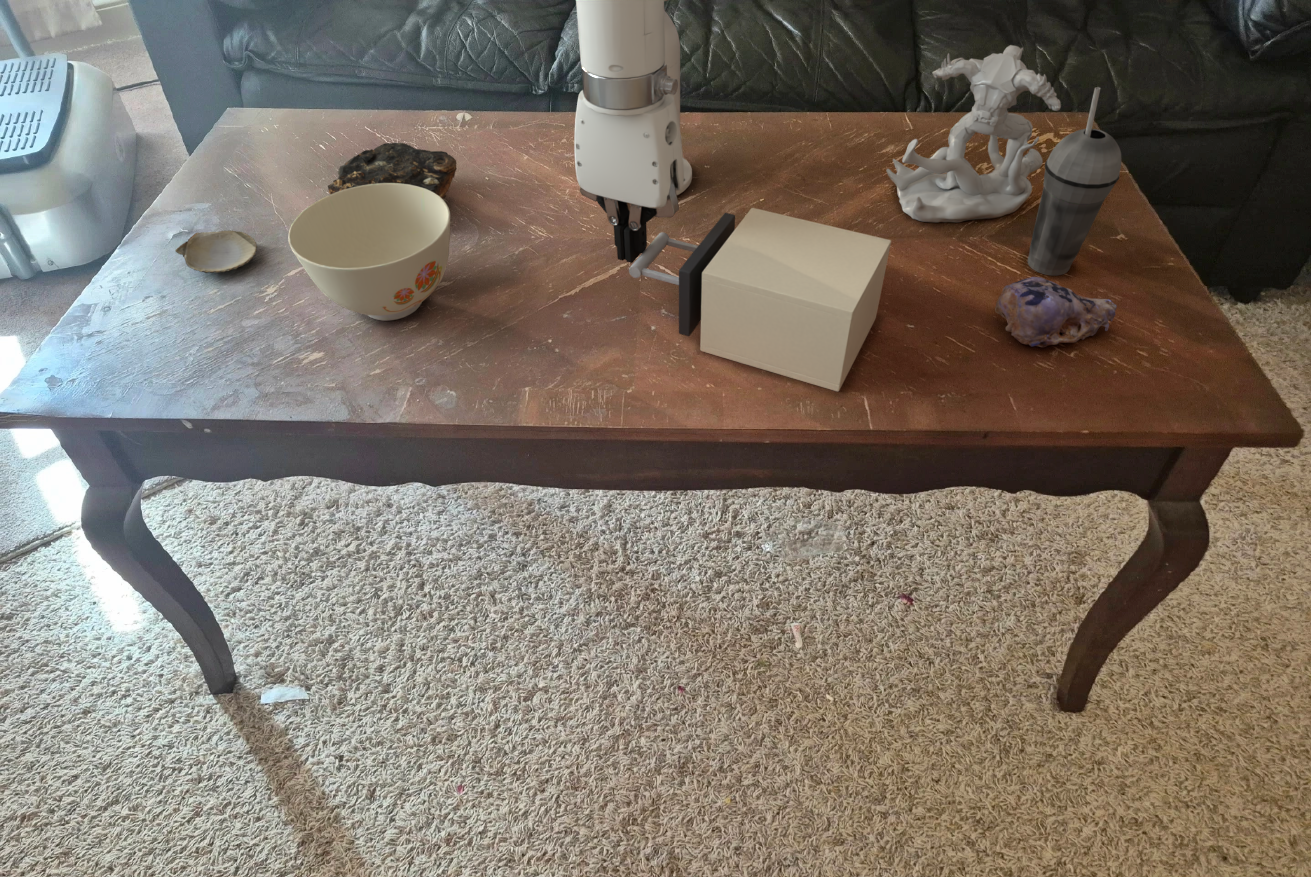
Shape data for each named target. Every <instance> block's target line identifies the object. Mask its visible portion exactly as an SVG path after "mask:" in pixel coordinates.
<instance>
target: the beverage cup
mask: <svg viewBox="0 0 1311 877" xmlns="http://www.w3.org/2000/svg"><path fill="white" fill-rule="evenodd" d="M1100 92H1101V87H1100V86H1097V87H1094V90H1093V94H1092V99H1091V104H1090V109H1089V114H1088V118H1087V123H1086V128H1083V129H1078V130H1076V131H1074V132H1071V133H1068V134H1067V135H1066V136H1064V137H1063V138H1062V139H1061V140H1060V141H1059V142H1058V143H1056V144H1055V146H1054V148H1053V149H1052V150H1051V152H1050V154H1049V156H1048V158H1047V159H1046V160H1045V162H1044V174H1043V175H1044V176H1043V188H1042V193H1041V195H1040V201H1039V205H1038V210H1037V213H1036V214H1037V215H1036V219H1035V222H1034V228H1033V232H1032V236H1031V241H1030V245H1029V251H1028V252H1029V253H1028V257H1027V264H1028V266H1029V267H1030V268H1031V269H1032V270H1033V271H1035V272H1037V273H1040V274H1042V275H1045V276H1062V275H1065V274H1066V273H1068V271H1070V269H1071V266H1072V264H1073V263H1074V261H1075V260H1076V259H1077V256H1078V254H1079V252H1080V251H1081V248H1082V247H1083V244H1084V242H1085V240H1086V238H1087V236H1088V234H1089V232H1090V230H1091V228H1092V226H1093V223H1094V222H1095V220H1096V218H1097V216H1098V214H1099V212H1100V210H1101V208H1102V206H1103V204H1104V202H1105V200H1106V198H1108V196H1109V195H1110V193H1111V192H1112V190H1113V188H1114V187H1115V185H1116V183H1117V182H1118V181H1119V180H1120V176H1121V175H1120V172H1121V169H1122V168H1121V167H1122V152H1121V148H1120V146H1119V144H1118V143H1117V141H1116V140H1115V138H1114V136H1112V135H1110V134H1109V133H1108V132H1106V131H1104V130H1101V129H1098V128H1093V125H1094V121H1095V115H1096V110H1097V107H1098V103H1099V97H1100V94H1101V93H1100Z"/></svg>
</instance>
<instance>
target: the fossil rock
mask: <svg viewBox="0 0 1311 877" xmlns="http://www.w3.org/2000/svg"><path fill="white" fill-rule="evenodd" d="M456 172H457V159H455V158H454V156H453V155H451V154H449V153H448V152H447V151H443V150H429V149H428V150H427V149H421V148H420V149H419V148H415V147H413V146H411V145H410V144H408V143H404V142H396V141H394V142H386V143H382V144H380V145H378V146H377V147H375V148H373V149H372V148H371V149H369V150H368V149H365V150H363V151H361V152H359V153H358V154H357V155H356V156H353V157H352V158H350V159H348V160H347V161H346V162H345V163H344V164H343V165H340V166H339V167H338V171H337V175H338V177H337V179H334V180H332V182H331V183H330V184H328V185H327V189H328V194H329V195H331V194H334V193H336V192H339V191H342V190H345V189H349V188H353V187H357V186H362V185H368V184H378V183H400V184H408V185H414V186H418V187H421V188H425V189H427V190H429V191H431V192H433V193H435V194H437V195H438V196H439V197H441V198H442V199H443V200H444V199H445V198H446V197H447V194H448V192H449V191H450V188H451V185H452V183H453V180H454V178H455V175H456ZM444 201H445V200H444Z"/></svg>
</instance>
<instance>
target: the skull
mask: <svg viewBox="0 0 1311 877" xmlns="http://www.w3.org/2000/svg"><path fill="white" fill-rule="evenodd" d="M997 298H998V299H997V300H996V302H995V303H996V304H995V308H994V311H995V312H994V313H996V314H998V315H1000V316H1001V317H1002V318H1003V319H1005V320H1006V322H1007V325H1006V326H1005V331H1006V332H1009V333H1011V336H1012V337H1013V338H1014V339H1016V340H1017V341H1018V342H1019V343H1020V344H1022V345H1029V346H1030V347H1031V348H1033V347H1039V348H1045V347H1048V346H1055V345H1058V344H1061V343H1065V344H1066V343H1067V344H1068V343H1070V344H1071V343H1072V344H1073V343H1077V342H1078V341H1079V340H1085V339H1086V338H1088V337H1093V336H1094V335H1096V334H1097V332H1098V330H1099V329H1100V327H1104V331H1105V332H1108V330H1109V327H1110V324H1109V321H1110V322H1111V323H1112V322H1113V320H1114V319H1115V317H1116V311H1117V308H1118V306H1117V304H1116V303H1114V302H1113V300H1112V299H1109V298H1095V297H1094V298H1091V297H1085V296H1082V295H1079V294H1076V293H1075V292H1074V291H1073V290H1072V289H1070V288H1068V287H1064V286H1062V285H1060V284H1058V283H1056V282H1054V281H1052V280H1048V279H1046V278H1044V277H1039V276H1031V277H1027V278H1023V279H1021V280H1018V281H1014V282H1012V283H1011V284H1007V285H1005V286H1004V287H1003V288H1002V292H1001V293H1000V295H999V296H998V297H997ZM1060 333H1061V334H1060Z"/></svg>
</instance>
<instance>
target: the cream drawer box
mask: <svg viewBox="0 0 1311 877" xmlns="http://www.w3.org/2000/svg"><path fill="white" fill-rule="evenodd" d="M891 245H892V240H891V239H887V238H883V237H880V236H879V237H878V236H874V235H870V234H866V233H861V232H858V231H853V230H849V229H845V228H840V227H836V226H832V225H828V224H823V223H819V222H815V221H811V220H807V219H802V218H797V217H793V216H789V215H785V214H781V213H776V212H773V211H768V210H764V209H759V208H756V207H751V208H750V209H749V211H748V212H747V213H746V214H745V216H744V217H743V218H742V220H741V221H740V222H739V224H738V225H737V226H736V228H735V230H734V232H733V233H732V234H731V236H730V237H729V238H728V239H727V241H726V242H725V243H724V245H723V246H722V247H721V249H720V250H719V251H718V252H717V254H716V255H715V256H714V258H713V259H712V260H711V262H710V263H709V264H708V265H707V267H706V268H705V269H704V271H703V272H702V300H701V321H700V345H699V346H700V349H699V350H700V352H703V353H707V354H710V355H713V356H716V357H720V358H723V359H727V360H728V361H729V360H730V361H733V362H736V363H740V364H743V365H746V366H750V367H753V368H757V369H759V370H760V369H761V370H763V371H766V372H770V373H774V374H776V375H780V376H784V377H787V378H789V379H790V378H791V379H793V380H797V381H801V382H804V383H808V384H811V385H814V386H816V387H817V386H818V387H821V388H823V389H828V390H831V391H834V392H836V393H837V392H840V390H841V388H842V386H843V384H844V382H845V380H846V378H847V376H848V374H849V372H850V370H851V368H852V366H853V364H854V362H855V360H856V358H857V356H858V355H859V353H860V350H861V348H862V347H863V344H864V343H865V341H866V338H867V336H868V335H869V333H870V331H871V328H872V327H873V325H874V323H875V321H876V319H877V314H878V311H879V310H878V309H879V304H880V299H881V294H882V290H883V284H884V280H885V275H886V269H887V264H888V259H889V255H890V251H891V250H890V249H891Z"/></svg>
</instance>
